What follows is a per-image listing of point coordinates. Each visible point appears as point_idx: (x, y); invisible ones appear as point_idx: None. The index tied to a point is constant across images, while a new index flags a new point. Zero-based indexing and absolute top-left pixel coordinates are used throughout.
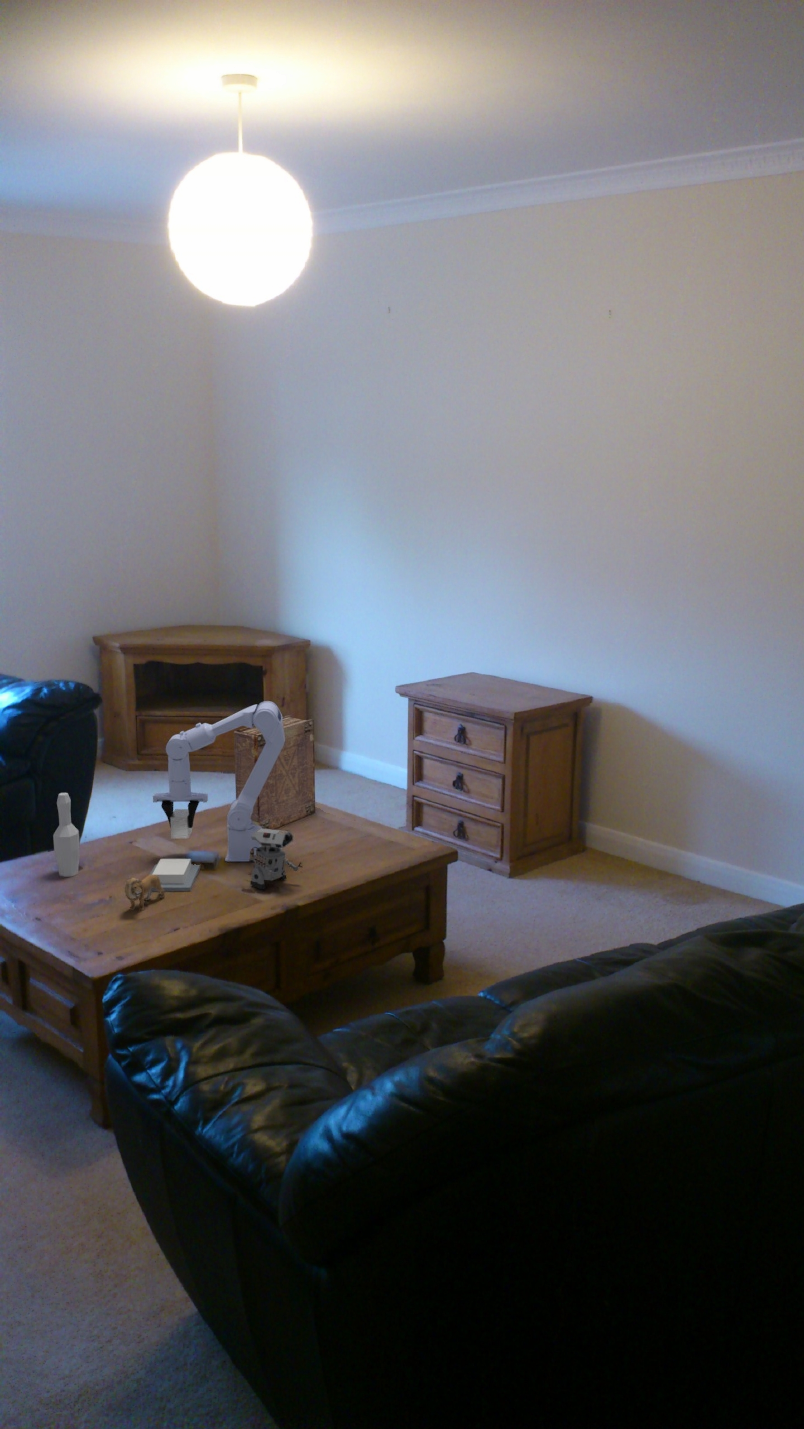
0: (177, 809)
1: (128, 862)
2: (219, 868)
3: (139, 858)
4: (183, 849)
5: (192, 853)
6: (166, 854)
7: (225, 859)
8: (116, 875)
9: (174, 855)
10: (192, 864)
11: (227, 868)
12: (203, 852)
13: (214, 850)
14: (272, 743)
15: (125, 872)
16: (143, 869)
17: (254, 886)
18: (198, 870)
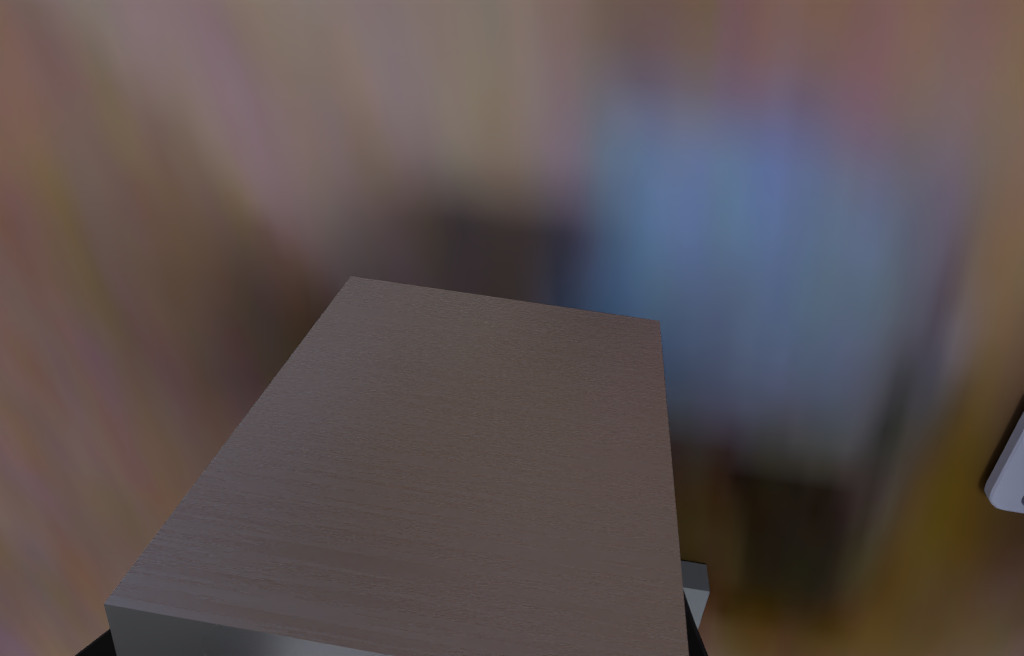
0: (195, 651)
1: (21, 346)
2: (882, 603)
3: (79, 261)
4: (513, 28)
5: (634, 192)
6: (329, 184)
7: (995, 495)
8: (53, 572)
9: (426, 227)
10: None
11: (958, 616)
12: (776, 175)
13: (937, 119)
14: None
15: (94, 537)
16: None
17: None
18: None
